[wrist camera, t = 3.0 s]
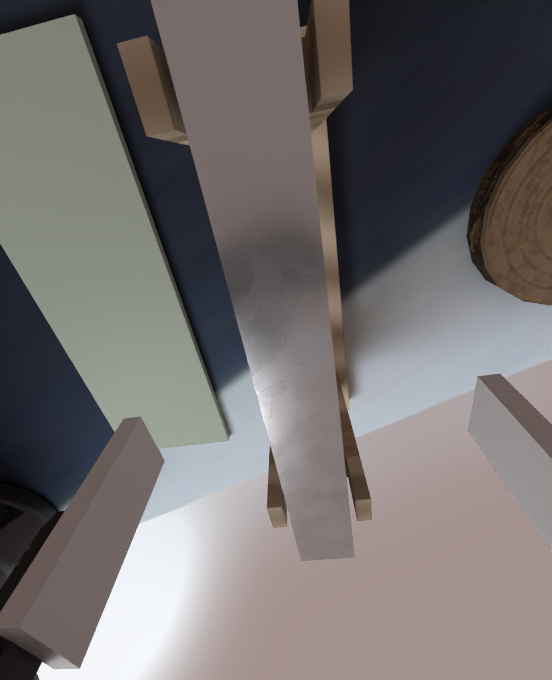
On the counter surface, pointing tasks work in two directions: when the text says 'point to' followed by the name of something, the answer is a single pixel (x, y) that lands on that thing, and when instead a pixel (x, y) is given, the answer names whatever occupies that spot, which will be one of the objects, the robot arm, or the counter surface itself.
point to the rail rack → (323, 97)
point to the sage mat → (94, 239)
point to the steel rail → (267, 236)
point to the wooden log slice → (517, 215)
